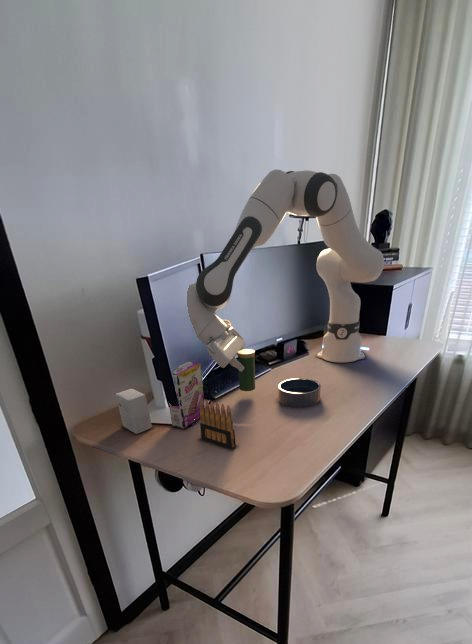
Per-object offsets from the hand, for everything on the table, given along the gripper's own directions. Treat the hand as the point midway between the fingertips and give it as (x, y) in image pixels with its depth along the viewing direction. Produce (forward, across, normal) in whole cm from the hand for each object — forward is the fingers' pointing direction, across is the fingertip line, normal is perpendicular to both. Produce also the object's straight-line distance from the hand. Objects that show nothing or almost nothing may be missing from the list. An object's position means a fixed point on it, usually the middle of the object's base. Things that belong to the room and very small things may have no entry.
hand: (246, 366), depth 128 cm
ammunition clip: (+8, -32, +8) cm, 34 cm away
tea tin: (+5, 0, +5) cm, 7 cm away
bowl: (+20, 0, -5) cm, 20 cm away
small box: (-11, -27, +27) cm, 40 cm away
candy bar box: (-1, -20, +17) cm, 26 cm away
